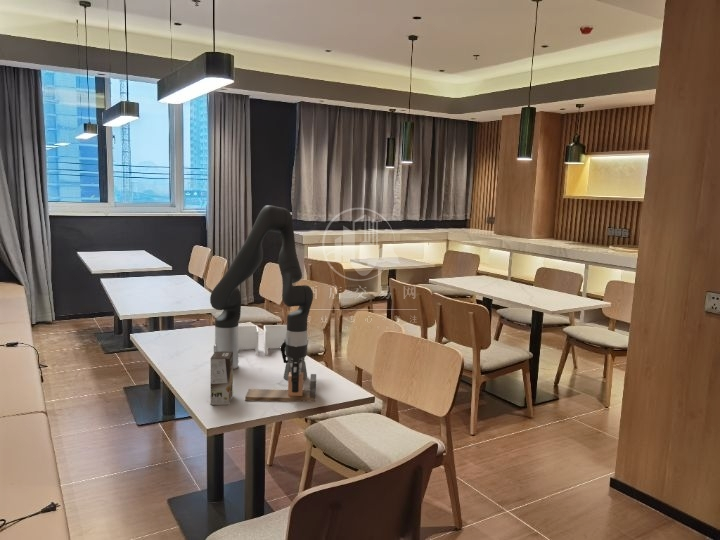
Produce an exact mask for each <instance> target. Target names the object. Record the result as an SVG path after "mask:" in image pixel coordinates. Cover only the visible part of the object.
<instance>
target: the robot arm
mask: <svg viewBox="0 0 720 540" xmlns="http://www.w3.org/2000/svg"><path fill="white" fill-rule="evenodd" d="M269 232H274V233H279V235H280V237H281V241H282V243H281V247H280V251H279V254H278V257H277V259H278V260H277V261H278V267H279V270H280V275H281V281H282V290H281V291H282V293H281V299H282V301H283V304H284V305H285V306H287V307H290V308H291V307H298V308H297V309H296V310H295V311H292V312H289V313H287V316H286V325H287V333H286V352H285V355H286V356H287V357H291V358H293V360H291V362H290V366H291V382H292V392H298V390H299V375H300V374H301V366H302V360H301V358H303V357H305V358H306V357H308V346H307V344H309V339H308V338H309V337H308V336H309V335H308V334H309V333H308V317H309V314H310V310H311V308H312V305H313V300H314V292H313V289H312V287H310V286H309V285H307V284H304V285H302V284H301V285H293V284H295V283H297V282H299V281H301V279H302V277H303V274H302V268H301V266H300V261H299V259H298V255H297V249H296V248H297V247H296V239H295V238H296V237H295V231H294V222H293V216H292V214H291V212H290V210H289V209H287V208H285V207H282V206H281V207H279V206H275V205H264V206H263V207H262V209H261V210H260V211H259V213H258V215H257V217H256V219H255V222H254V224H253V226H252V228H251V230H250V232H249V234H248V235H247V238H246V240H245V241H244V243H243V245H242V246H241V247H240V250H238V252H237V254H236V256H235V257H234V259H233V260H232V263H230V266H229V267H228V269H227V271H225V274H224V275H223V277H222V278H221V279H220V281H219V282H218V283H217V284H216V286H214V288H213V289H212V291H211V293H210V297H209V302H210V306H211V307H212V308H213V309H214V310H215V311H222V313H221V314H219V315H218V316H217V317H216V318H214V319H215V320H214V345H213V354H214V353H215V352H221V351H230V352H233V370H235V369H237V368H238V367H239V349H238V326H239V322H240V319H241V312H242V311H241V309H242V294H241V291H240V288H238V287H239V286H240V285H241V284H243V283H244V282H245V281H247V280H248V279H249V278H251V277H252V276H253V274H255V272H256V271H257V269H258V268H259V266H260V265H261V263H262V261H263V259H264V251H263V250H264V249H263V241H264V239H265V238H266V237H265V236H266V235H267V234H268V233H269ZM287 357H286V358H287ZM293 377H297V378H293Z"/></svg>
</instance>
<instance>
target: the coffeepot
mask: <svg viewBox="0 0 720 540" xmlns="http://www.w3.org/2000/svg"><path fill="white" fill-rule="evenodd" d="M308 344H309V343H308ZM308 344H307V347H308ZM280 353H281V357H282V361H283V363H284V364H285V367H284V368H285V369H284V373H283V379H284V380H285V381H288V375H289V372H291V366H290V362H291V360H293V358H291V357H287V356H286V339H285V340H284V343H283V344H282V345H281V348H280ZM305 358H306V357H303V358H301V360H302V366H301V372H303V381H305V380H307V378H308V372H307V364H306V361H305Z"/></svg>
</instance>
